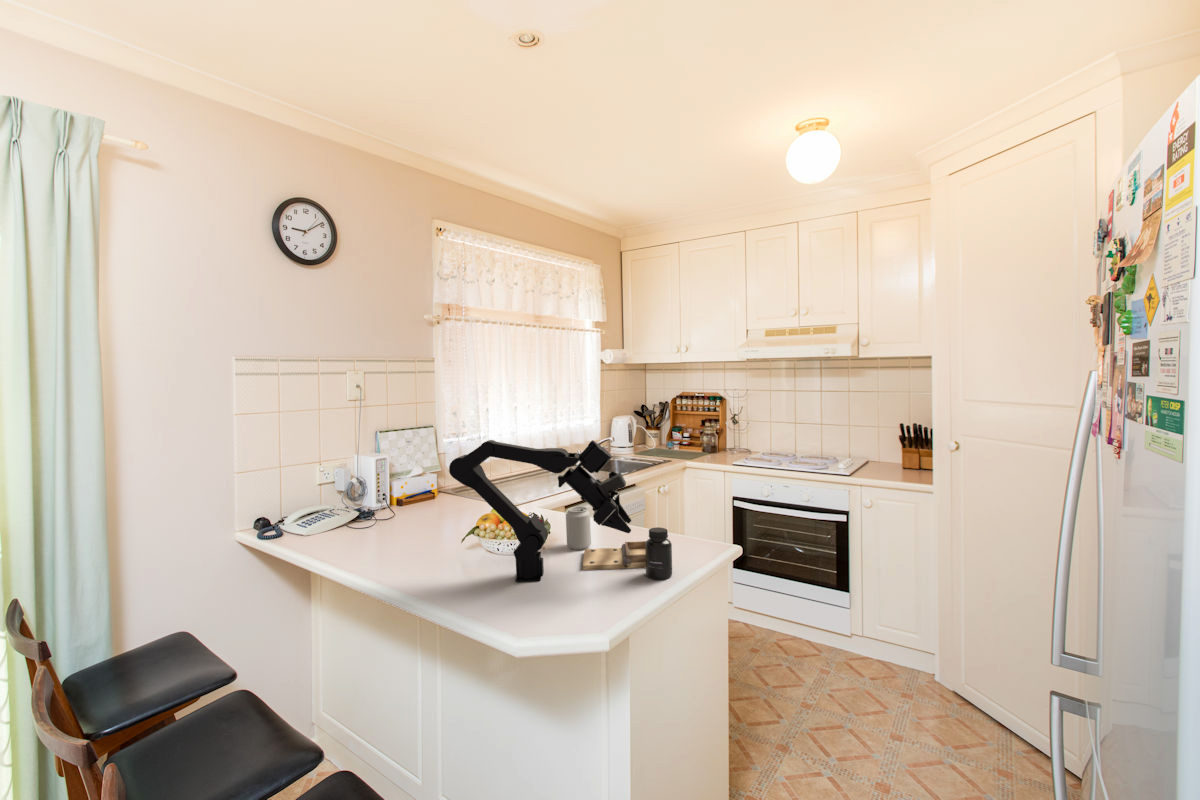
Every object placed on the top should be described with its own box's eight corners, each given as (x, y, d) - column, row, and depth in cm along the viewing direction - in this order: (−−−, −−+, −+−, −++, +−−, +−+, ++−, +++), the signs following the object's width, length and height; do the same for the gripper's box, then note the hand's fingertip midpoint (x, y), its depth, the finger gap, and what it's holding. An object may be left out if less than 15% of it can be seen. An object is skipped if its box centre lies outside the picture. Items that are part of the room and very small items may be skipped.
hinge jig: (583, 570, 143) (582, 558, 143) (585, 553, 157) (584, 542, 157) (671, 566, 143) (671, 554, 143) (665, 550, 157) (665, 539, 157)
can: (590, 550, 159) (589, 511, 159) (566, 551, 159) (564, 511, 159) (591, 542, 167) (590, 505, 166) (568, 543, 167) (566, 506, 166)
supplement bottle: (651, 582, 133) (649, 534, 132) (642, 572, 139) (640, 527, 139) (677, 578, 135) (675, 531, 134) (666, 569, 141) (664, 524, 141)
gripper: (604, 469, 127) (652, 513, 127) (608, 457, 146) (650, 496, 146) (573, 502, 128) (621, 546, 128) (581, 487, 147) (622, 525, 146)
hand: (630, 526), depth 137 cm, fingers open, 9 cm apart
